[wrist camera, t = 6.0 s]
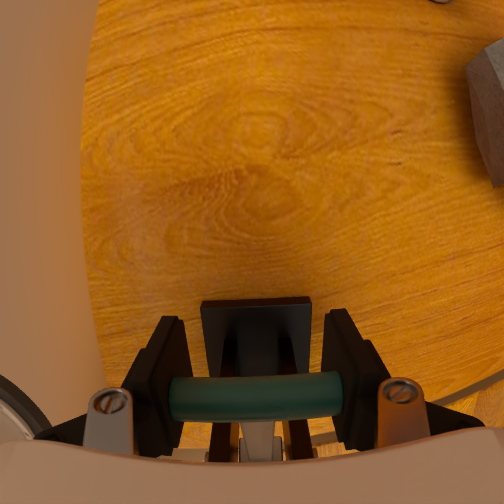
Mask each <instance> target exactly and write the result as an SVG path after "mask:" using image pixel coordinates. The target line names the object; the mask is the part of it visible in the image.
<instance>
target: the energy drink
mask: <svg viewBox="0 0 504 504" xmlns="http://www.w3.org/2000/svg"><path fill="white" fill-rule="evenodd" d="M434 1H436V2H440V3H449V2H451V1H453V0H434Z"/></svg>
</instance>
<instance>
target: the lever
mask: <svg viewBox="0 0 504 504" xmlns="http://www.w3.org/2000/svg"><path fill="white" fill-rule="evenodd" d="M168 401H169V410H170V414H171V417H172V419H173V420H174V421H180V422H204V423H240V425H241V429H242V433H243V438H240V439H239V463H246V462H275V461H283V452H282V438H281V437H280V436H277V437H274V427H275V421H289V420H301V419H312V418H321V417H330V416H338V415H340V414H341V412H342V409H343V403H344V393H343V384H342V380H341V377H340V374H339V372H338V371H325V372H315V373H303V374H290V375H274V376H252V377H174V378H173V379H172V380H171V383H170V387H169V396H168Z"/></svg>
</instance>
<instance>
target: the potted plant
mask: <svg viewBox="0 0 504 504" xmlns="http://www.w3.org/2000/svg"><path fill="white" fill-rule="evenodd" d="M465 72H466V77H467V83H468V89H469V95H470V102H471V110H472V118H473V126H474V131H475V137H476V143H477V146H478V148H479V151H480V153H481V156H482V158H483V161H484V163H485V166H486V169H487V171H488V174H489V177H490V180H491V182H492V185H493V188H496V187H498V186H500V185H502V184H504V38H502V39H500V40H498V41H496V42H494V43H493V44H491V45H489V46H487V47H485V48H484V49H483V50H482V51H481V52H480V53H479V54H478V55H477V56H476V57H475V58H474V59H473V60H472V61H470V62H469V63H468V64H467V65H466V66H465Z"/></svg>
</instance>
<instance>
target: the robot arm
mask: <svg viewBox="0 0 504 504" xmlns="http://www.w3.org/2000/svg"><path fill="white" fill-rule="evenodd" d="M325 371H338V372H339V374H340V377H341V380H342V384H343V393H344V403H343V409H342V412H341V414H340V415H338V416H332V420H333V424H334V427H335V431H336V435H337V439H338V442H339V443H341V442H344V445H345V449H346V450H352V449H356V450H358V451H360V452H356V453H350V454H344V455H337V456H330V457H321V458H312V459H302V460H290V461H275V462H246V463H225V462H196V461H181V460H168V459H159V458H157V457H159V456H161V455H164V456H172V451H173V448H178V446H179V443H180V438H181V434H182V429H183V425H184V422H180V421H174V420H173V419H172V417H171V414H170V410H169V401H168V396H169V387H170V383H171V380H172V379H173V378H174V377H193V373H192V367H191V362H190V356H189V351H188V345H187V339H186V333H185V327H184V322H183V320H179V318H178V316H162V317H161V319H160V321H159V323H158V325H157V327H156V329H155V331H154V333H153V334H152V336H151V338H150V340H149V342H148V344H147V346H146V348H142V349H141V350H140V351H139V353H138V355H137V356H136V358H135V360H134V362H133V364H132V366H131V368H130V370H129V372H128V374H127V376H126V378H125V379H124V381H123V383H122V385H121V387H120V388H119V387H110V388H105V389H103V390H100V391H98V392H97V393H95V394H94V395H93V396H92V398H91V399H90V402H89V406H88V412H87V413H86V414H84V415H81V416H79V417H77V418H74V419H72V420H69V421H67V422H64V423H62V424H59V425H57V426H54V427H51V428H49V429H46V430H44V431H42V432H40V433H38V434H37V435H36V436H35V435H34V433H33V431H32V430H31V428H30V427H29V426H28V424H27V423H26V422H25V421H24V419H23V418H22V417H21V416H20V415H19V414H18V413H17V412H16V411H15V410H14V409H13V408H12V407H11V406H9V405H8V404H7V403H6V402H5V401H3V400H2V399H0V504H504V427H494V426H491V427H485V425H484V424H483V422H481V421H480V420H479V419H477V418H475V417H473V416H470V415H467V414H463V413H460V412H457V411H454V410H451V409H448V408H445V407H441V406H438V405H435V404H432V403H430V402H427V401H425V399H424V394H423V390H422V388H421V386H420V385H419V384H418V383H417V382H415V381H413V380H411V379H408V378H404V377H393V378H392V377H391V376H390V374H389V372H388V370H387V368H386V367H385V365H384V363H383V361H382V360H381V358H380V356H379V354H378V353H377V351H376V349H375V347H374V346H373V344H372V342H371V341H370V340H368V339H367V340H363V338H362V337H361V335H360V333H359V331H358V329H357V328H356V326H355V324H354V322H353V320H352V319H351V317H350V315H349V313H348V312H347V310H346V309H345V308H343V309H331V310H330V313H328V314H325V320H324V335H323V349H322V362H321V372H325Z"/></svg>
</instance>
